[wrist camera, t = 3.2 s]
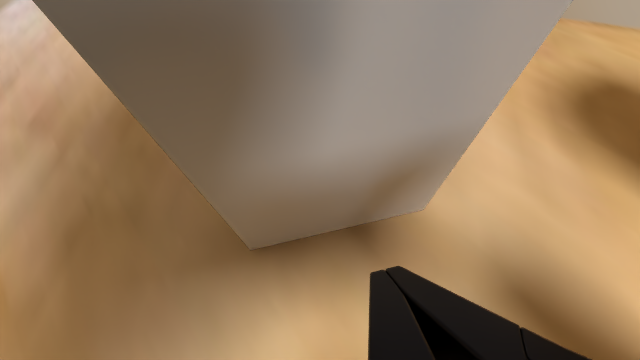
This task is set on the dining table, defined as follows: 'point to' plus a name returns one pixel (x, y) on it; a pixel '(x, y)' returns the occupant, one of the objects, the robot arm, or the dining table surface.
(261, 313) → the dining table surface
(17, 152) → the dining table surface
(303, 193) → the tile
